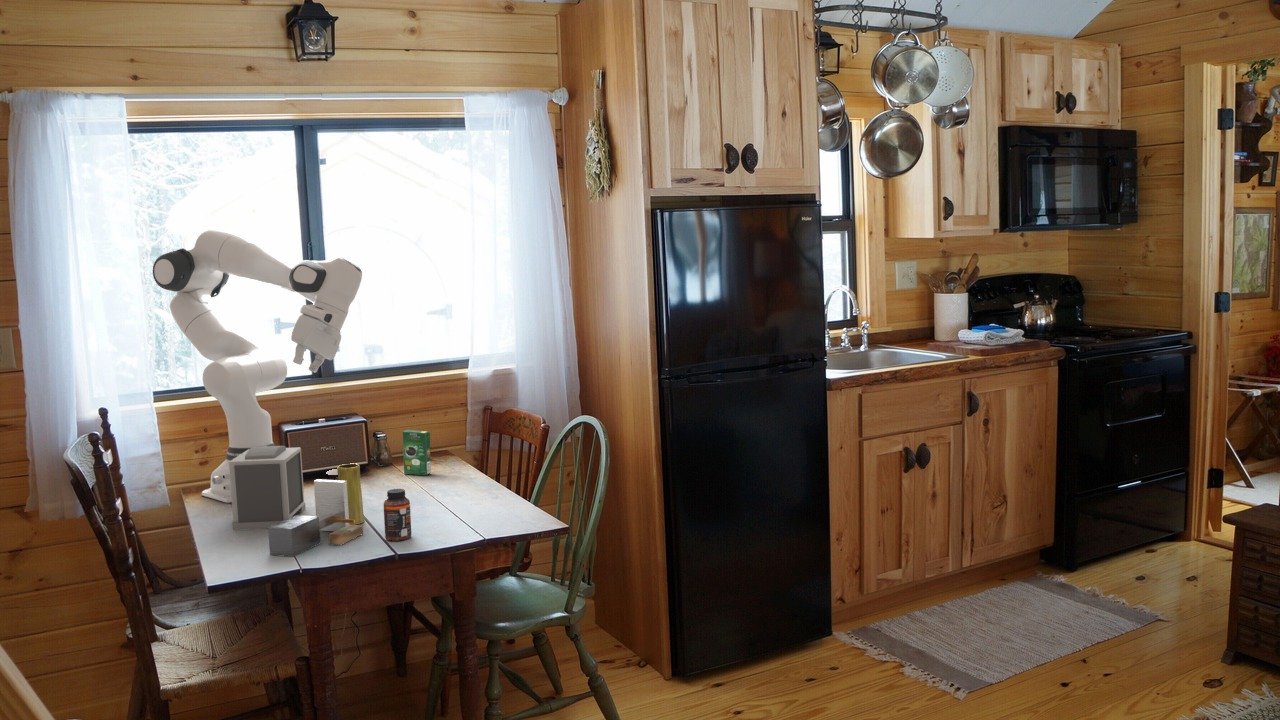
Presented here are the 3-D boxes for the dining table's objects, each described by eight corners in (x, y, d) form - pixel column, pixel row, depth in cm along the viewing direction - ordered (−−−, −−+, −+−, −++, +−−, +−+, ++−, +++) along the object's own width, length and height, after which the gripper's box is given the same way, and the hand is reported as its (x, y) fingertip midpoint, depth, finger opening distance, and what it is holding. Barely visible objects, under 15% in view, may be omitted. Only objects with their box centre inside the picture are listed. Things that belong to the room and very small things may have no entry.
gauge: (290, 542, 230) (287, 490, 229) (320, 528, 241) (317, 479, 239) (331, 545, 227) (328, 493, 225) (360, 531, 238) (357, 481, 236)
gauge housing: (270, 554, 222) (268, 527, 221) (298, 541, 231) (296, 515, 230) (293, 556, 220) (291, 528, 219) (320, 543, 229) (318, 516, 229)
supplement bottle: (412, 540, 230) (410, 492, 229) (385, 543, 228) (383, 494, 227) (410, 533, 236) (408, 486, 234) (384, 536, 234) (382, 488, 233)
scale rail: (329, 544, 228) (328, 534, 228) (352, 533, 237) (351, 523, 237) (340, 545, 227) (340, 535, 227) (363, 534, 236) (362, 524, 236)
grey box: (254, 510, 261) (249, 441, 259) (306, 508, 262) (302, 439, 259) (231, 530, 242) (225, 455, 240) (287, 527, 243) (282, 453, 241)
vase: (355, 526, 242) (351, 469, 241) (333, 525, 244) (330, 467, 243) (369, 520, 248) (366, 463, 247) (348, 518, 250) (345, 462, 248)
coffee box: (432, 474, 297) (430, 430, 296) (427, 476, 295) (425, 432, 293) (409, 472, 300) (406, 429, 298) (403, 474, 297) (401, 431, 296)
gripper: (331, 324, 270) (310, 371, 268) (299, 303, 250) (276, 354, 248) (352, 331, 269) (331, 379, 267) (321, 311, 249) (298, 363, 247)
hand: (304, 367), depth 257 cm, fingers open, 8 cm apart
